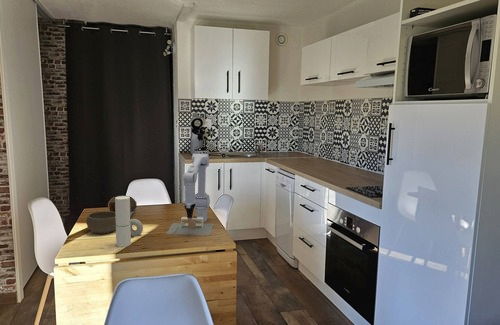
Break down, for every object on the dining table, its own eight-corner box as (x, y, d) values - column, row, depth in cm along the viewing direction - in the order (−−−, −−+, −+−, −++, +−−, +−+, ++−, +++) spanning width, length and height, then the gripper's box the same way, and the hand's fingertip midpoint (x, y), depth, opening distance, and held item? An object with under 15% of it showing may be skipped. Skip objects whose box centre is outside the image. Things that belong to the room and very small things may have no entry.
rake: (186, 217, 216) (187, 205, 215) (197, 217, 216) (197, 206, 215) (184, 221, 206) (184, 209, 205) (195, 222, 206) (195, 209, 206)
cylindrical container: (132, 242, 195) (131, 196, 192) (128, 247, 188) (127, 199, 185) (118, 242, 195) (117, 196, 191) (114, 246, 188) (113, 199, 184)
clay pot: (142, 193, 259) (129, 194, 234) (143, 214, 258) (131, 218, 233) (121, 195, 259) (106, 196, 234) (123, 217, 258) (108, 220, 233)
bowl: (125, 228, 218) (125, 212, 217) (106, 237, 201) (106, 220, 200) (101, 225, 222) (100, 209, 221) (80, 234, 205) (79, 217, 204)
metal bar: (175, 228, 218) (175, 226, 217) (177, 228, 218) (177, 226, 218) (172, 233, 208) (172, 231, 208) (174, 233, 208) (174, 231, 208)
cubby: (172, 224, 228) (172, 214, 227) (213, 224, 228) (213, 214, 227) (166, 235, 207) (165, 224, 206) (210, 236, 207) (210, 225, 207)
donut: (124, 236, 204) (124, 219, 202) (127, 234, 207) (127, 217, 206) (141, 238, 202) (141, 220, 200) (144, 236, 205) (144, 218, 204)
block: (189, 226, 221) (189, 220, 221) (195, 226, 221) (195, 220, 221) (188, 228, 217) (188, 221, 217) (194, 228, 217) (195, 222, 217)
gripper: (184, 190, 212) (184, 213, 214) (180, 196, 198) (180, 221, 199) (197, 191, 212) (196, 213, 214) (193, 196, 198) (193, 221, 200)
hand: (190, 217), depth 207 cm, fingers closed on rake
